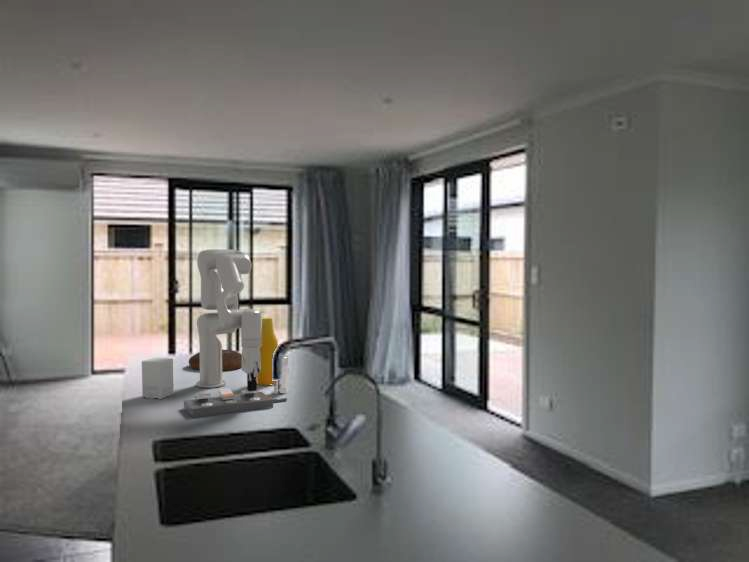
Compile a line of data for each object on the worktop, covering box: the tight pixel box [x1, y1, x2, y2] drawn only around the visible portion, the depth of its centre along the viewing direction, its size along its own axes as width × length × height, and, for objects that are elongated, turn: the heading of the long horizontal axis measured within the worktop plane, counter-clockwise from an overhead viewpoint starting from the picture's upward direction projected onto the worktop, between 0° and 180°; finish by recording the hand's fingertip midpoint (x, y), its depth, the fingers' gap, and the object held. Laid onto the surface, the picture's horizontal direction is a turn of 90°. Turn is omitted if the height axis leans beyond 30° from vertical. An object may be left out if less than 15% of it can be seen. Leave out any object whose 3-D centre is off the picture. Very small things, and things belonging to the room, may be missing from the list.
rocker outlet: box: [194, 393, 212, 399], centre depth 234 cm, size 7×4×1 cm, turn 29°
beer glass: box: [272, 355, 290, 394], centre depth 261 cm, size 7×7×15 cm
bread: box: [188, 349, 242, 372], centre depth 316 cm, size 28×27×9 cm
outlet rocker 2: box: [240, 388, 259, 394], centre depth 243 cm, size 7×4×1 cm, turn 29°
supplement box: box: [141, 357, 174, 400], centre depth 253 cm, size 9×9×15 cm
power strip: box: [183, 391, 288, 418], centre depth 238 cm, size 14×38×4 cm, turn 119°
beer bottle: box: [257, 317, 279, 386], centre depth 277 cm, size 9×9×29 cm
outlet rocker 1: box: [218, 387, 236, 400], centre depth 238 cm, size 7×4×1 cm, turn 29°
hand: (252, 390), depth 240 cm, fingers closed
